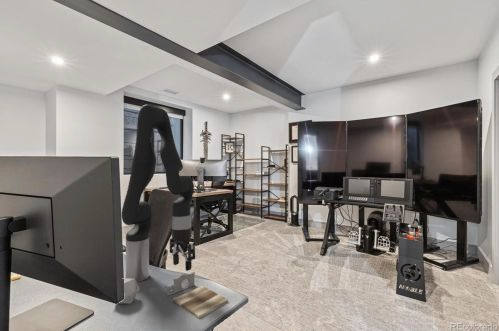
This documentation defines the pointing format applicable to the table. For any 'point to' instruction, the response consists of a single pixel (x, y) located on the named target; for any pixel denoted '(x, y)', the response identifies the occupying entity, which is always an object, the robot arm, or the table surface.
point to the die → (130, 290)
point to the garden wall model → (179, 280)
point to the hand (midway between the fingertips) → (182, 267)
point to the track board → (200, 301)
